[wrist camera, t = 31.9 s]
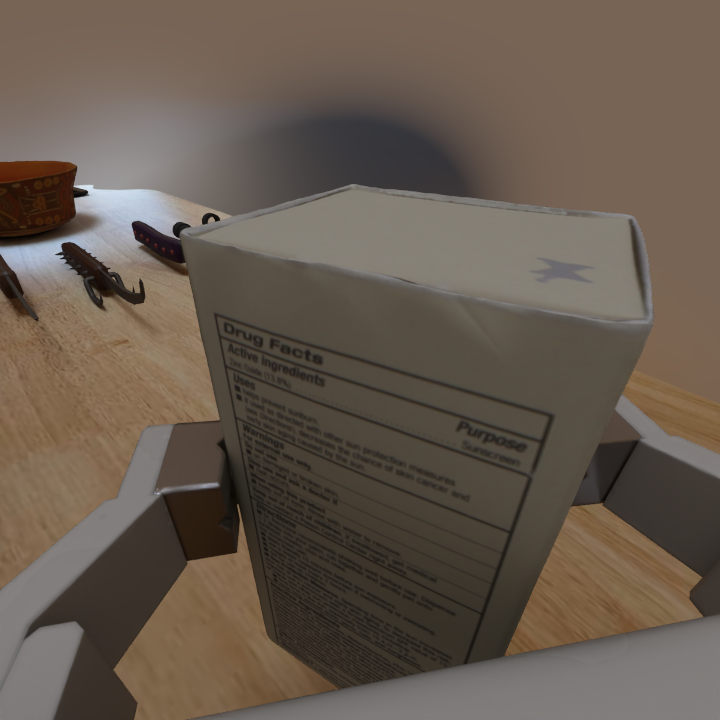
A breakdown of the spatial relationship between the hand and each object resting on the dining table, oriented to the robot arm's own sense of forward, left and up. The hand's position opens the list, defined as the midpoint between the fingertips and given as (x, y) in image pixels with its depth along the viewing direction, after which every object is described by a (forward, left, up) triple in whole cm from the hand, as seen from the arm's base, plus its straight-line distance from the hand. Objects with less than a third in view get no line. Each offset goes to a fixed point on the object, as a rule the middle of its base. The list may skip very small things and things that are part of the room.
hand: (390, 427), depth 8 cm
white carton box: (-1, +1, -6) cm, 6 cm away
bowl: (+84, -19, -17) cm, 88 cm away
